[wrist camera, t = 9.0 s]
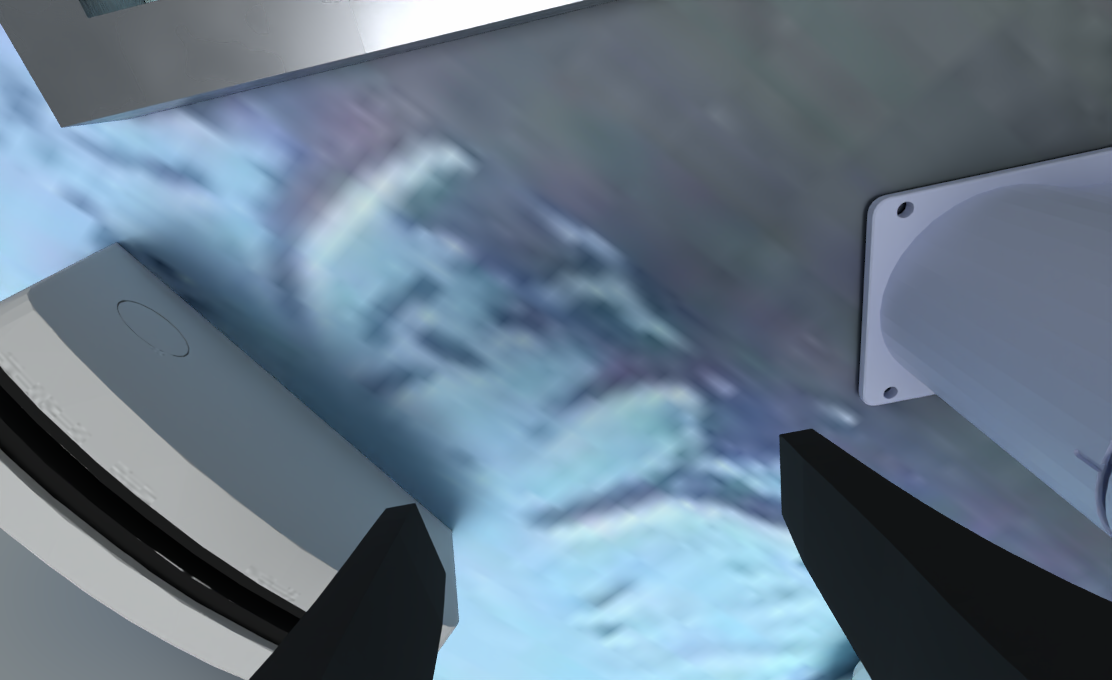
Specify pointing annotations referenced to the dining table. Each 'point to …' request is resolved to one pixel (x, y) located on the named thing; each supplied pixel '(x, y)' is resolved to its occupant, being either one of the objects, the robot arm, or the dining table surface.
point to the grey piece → (175, 467)
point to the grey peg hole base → (225, 44)
